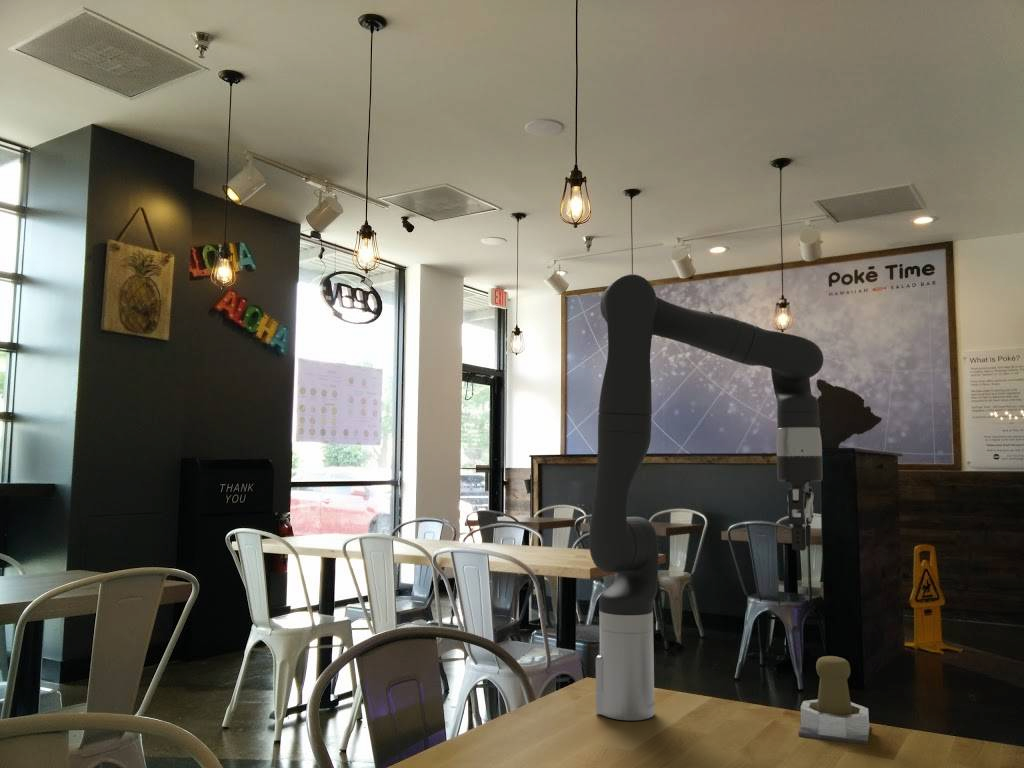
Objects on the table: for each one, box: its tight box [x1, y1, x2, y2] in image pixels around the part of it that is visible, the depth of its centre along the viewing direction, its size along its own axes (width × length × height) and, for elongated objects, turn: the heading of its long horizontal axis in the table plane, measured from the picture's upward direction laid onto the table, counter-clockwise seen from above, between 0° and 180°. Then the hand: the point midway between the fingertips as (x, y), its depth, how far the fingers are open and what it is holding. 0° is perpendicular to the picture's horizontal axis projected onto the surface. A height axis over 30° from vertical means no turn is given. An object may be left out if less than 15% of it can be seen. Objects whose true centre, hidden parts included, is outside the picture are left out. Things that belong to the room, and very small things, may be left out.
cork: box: [815, 655, 852, 715], centre depth 136 cm, size 6×6×11 cm
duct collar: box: [798, 698, 871, 746], centre depth 136 cm, size 10×10×4 cm
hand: (801, 548), depth 147 cm, fingers open, 8 cm apart
